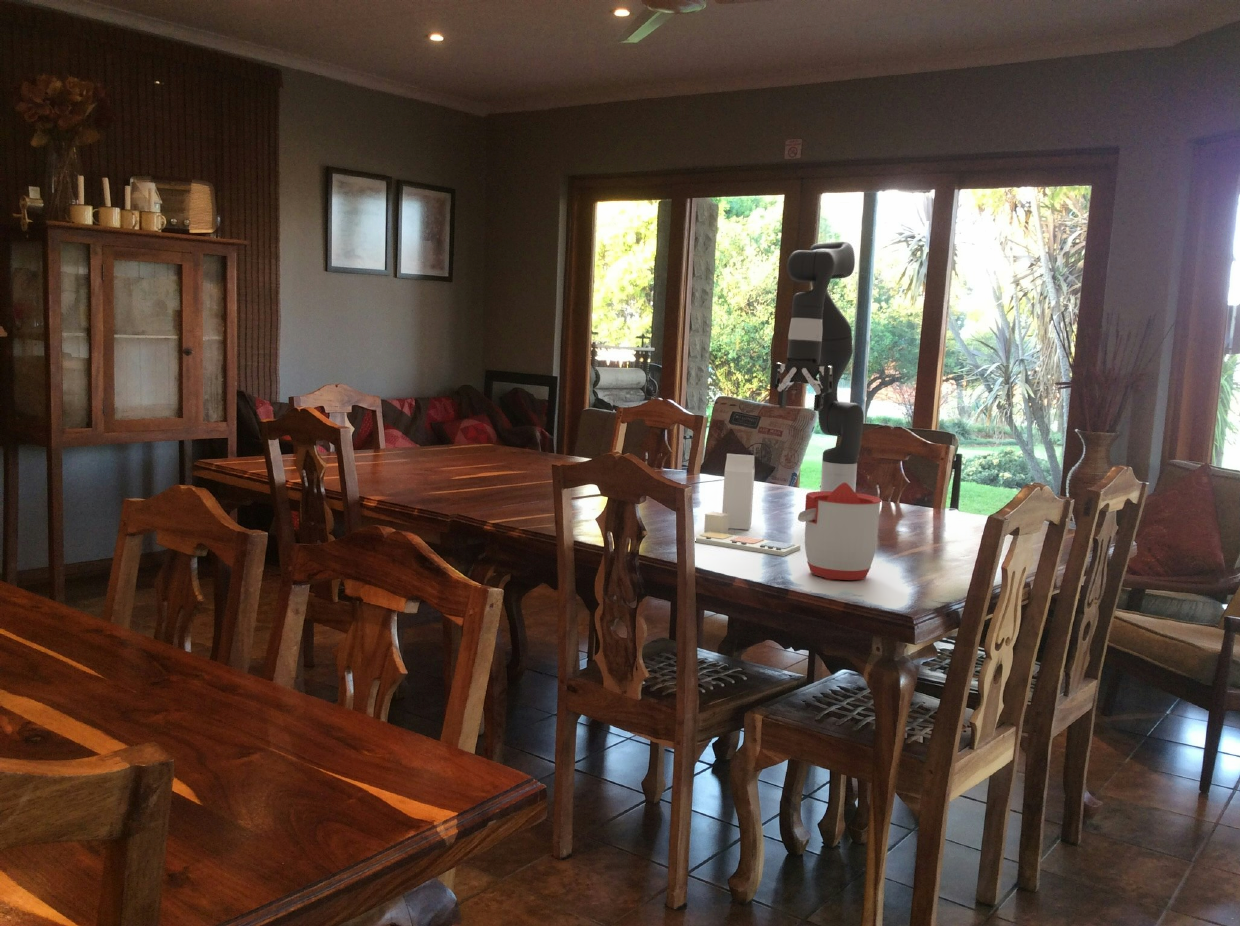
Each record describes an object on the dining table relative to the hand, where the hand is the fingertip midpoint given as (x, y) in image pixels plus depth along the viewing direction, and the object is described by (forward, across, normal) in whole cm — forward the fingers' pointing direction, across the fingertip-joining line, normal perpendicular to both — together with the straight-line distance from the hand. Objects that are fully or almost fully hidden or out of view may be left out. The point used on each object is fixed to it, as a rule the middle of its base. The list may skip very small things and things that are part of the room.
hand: (799, 409), depth 247 cm
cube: (+33, +23, -8) cm, 41 cm away
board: (+33, +11, +1) cm, 35 cm away
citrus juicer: (+34, -18, +16) cm, 41 cm away
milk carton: (+33, +23, -20) cm, 45 cm away
